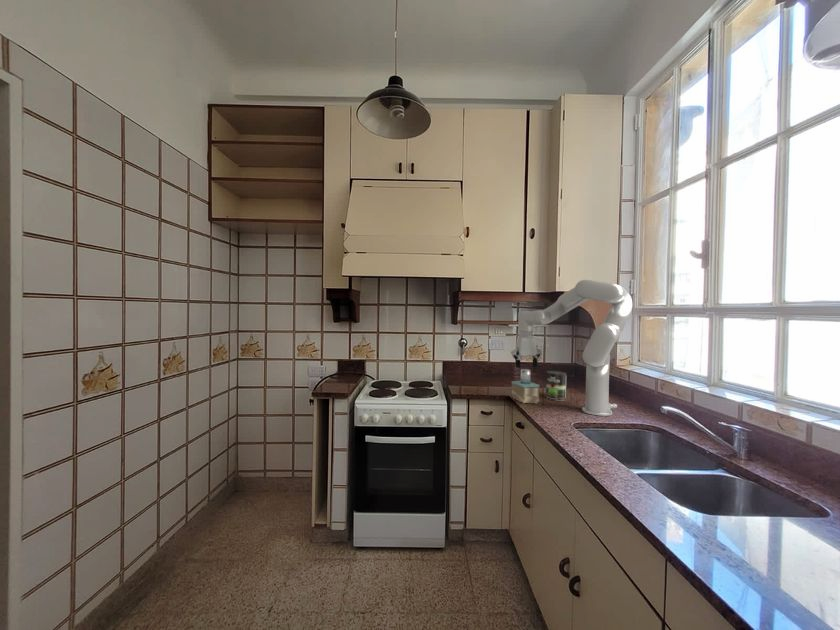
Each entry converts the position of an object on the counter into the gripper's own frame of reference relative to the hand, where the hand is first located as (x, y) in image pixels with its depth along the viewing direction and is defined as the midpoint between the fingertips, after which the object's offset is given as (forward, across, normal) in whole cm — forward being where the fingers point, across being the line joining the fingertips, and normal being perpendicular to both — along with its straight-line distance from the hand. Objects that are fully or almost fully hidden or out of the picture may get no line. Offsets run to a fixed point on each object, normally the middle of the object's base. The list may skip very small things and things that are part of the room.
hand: (526, 367), depth 179 cm
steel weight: (+8, +1, -1) cm, 9 cm away
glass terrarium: (+18, -19, -3) cm, 27 cm away
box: (+18, +1, -1) cm, 18 cm away
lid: (+10, +1, -1) cm, 10 cm away
